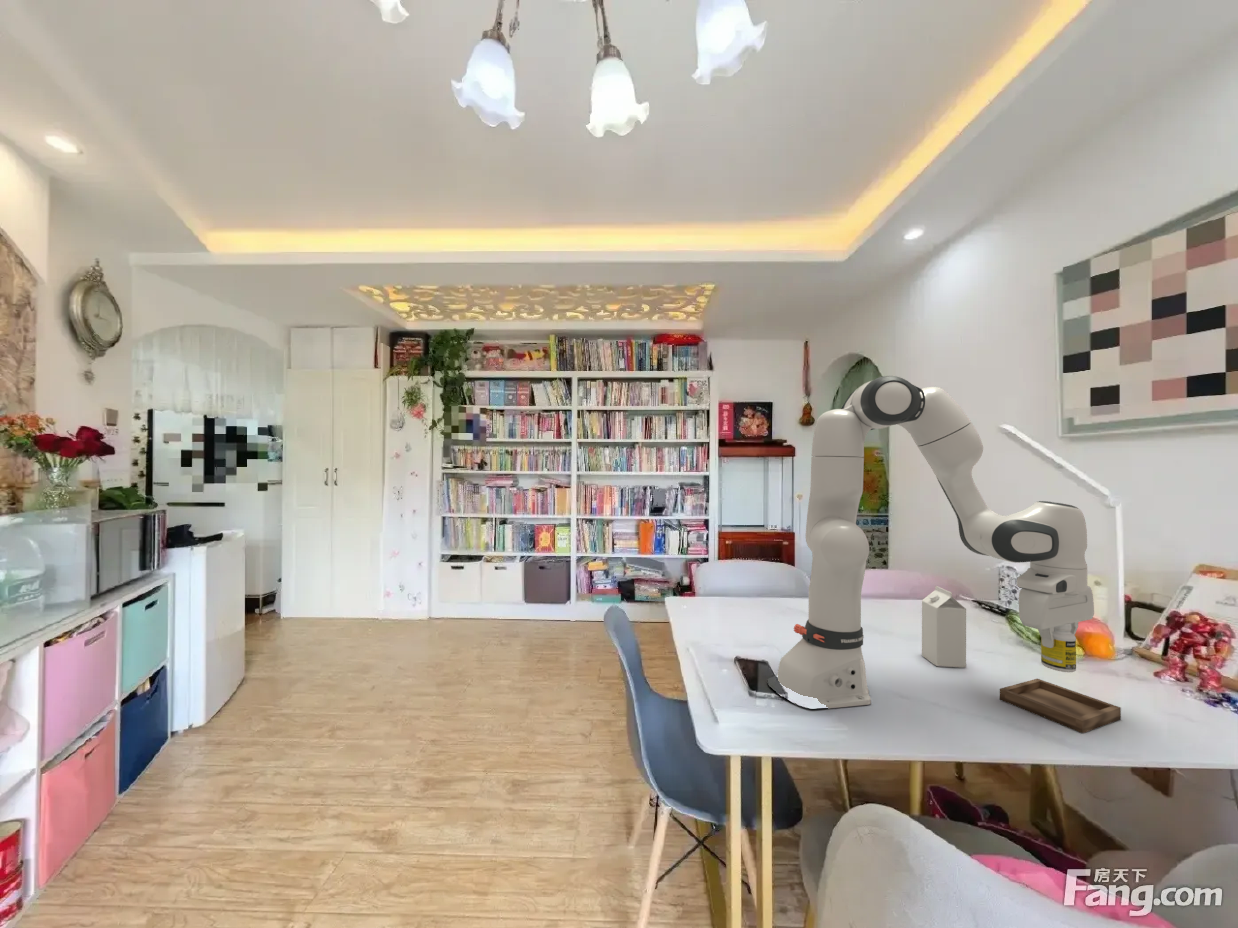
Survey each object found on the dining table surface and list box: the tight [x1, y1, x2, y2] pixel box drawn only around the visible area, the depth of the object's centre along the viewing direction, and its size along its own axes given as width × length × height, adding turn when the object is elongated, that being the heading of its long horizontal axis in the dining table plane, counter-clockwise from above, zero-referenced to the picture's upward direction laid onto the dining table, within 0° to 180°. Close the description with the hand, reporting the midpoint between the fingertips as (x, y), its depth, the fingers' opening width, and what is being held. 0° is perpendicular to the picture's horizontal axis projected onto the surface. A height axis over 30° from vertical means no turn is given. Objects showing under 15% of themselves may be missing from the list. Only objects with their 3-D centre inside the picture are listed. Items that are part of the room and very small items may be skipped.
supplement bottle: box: [1040, 623, 1077, 673], centre depth 99 cm, size 5×5×10 cm
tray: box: [999, 678, 1122, 734], centre depth 99 cm, size 14×14×2 cm
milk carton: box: [921, 585, 967, 669], centre depth 123 cm, size 7×7×19 cm
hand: (1058, 644), depth 99 cm, fingers closed on supplement bottle, 5 cm apart
